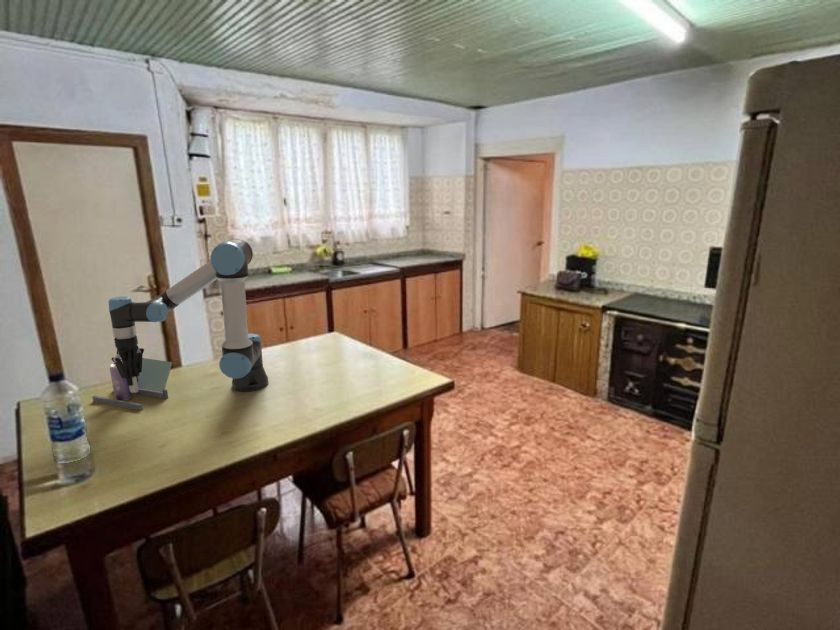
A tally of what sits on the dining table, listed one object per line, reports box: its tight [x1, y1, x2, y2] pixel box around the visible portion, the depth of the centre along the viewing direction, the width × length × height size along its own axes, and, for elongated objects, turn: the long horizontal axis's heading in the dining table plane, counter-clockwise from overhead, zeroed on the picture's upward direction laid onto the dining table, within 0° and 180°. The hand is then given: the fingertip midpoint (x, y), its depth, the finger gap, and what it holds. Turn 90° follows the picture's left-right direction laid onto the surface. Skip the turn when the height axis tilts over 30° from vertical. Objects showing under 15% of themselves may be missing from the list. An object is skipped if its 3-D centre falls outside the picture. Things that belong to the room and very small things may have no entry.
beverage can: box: [109, 362, 133, 401], centre depth 185 cm, size 6×6×15 cm
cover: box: [137, 357, 173, 392], centre depth 192 cm, size 24×13×1 cm
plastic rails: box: [92, 388, 169, 411], centre depth 185 cm, size 27×12×4 cm, turn 74°
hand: (134, 391), depth 184 cm, fingers closed
